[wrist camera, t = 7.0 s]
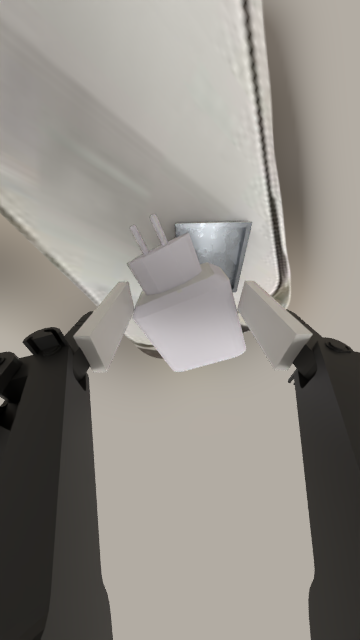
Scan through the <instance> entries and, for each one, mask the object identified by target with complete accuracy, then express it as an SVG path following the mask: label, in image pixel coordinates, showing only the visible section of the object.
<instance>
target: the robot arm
mask: <svg viewBox="0 0 360 640" xmlns="http://www.w3.org/2000/svg"><path fill="white" fill-rule="evenodd" d="M237 310H238V311H239V313H240V314H241V316H242V318H243V319H244V321H245V323H246V324H247V326H248V328H249V329H250V331H251V332H252V334H253V336H254V337H255V339H256V341H257V342H258V344H259V345H260V347H261V349H262V350H263V352H264V354H265V355H266V357H267V359H268V360H269V362H270V363H271V365H272V367H273V368H274V370H288V369H289V368H290V366H291V365H292V363H293V364H294V365H295V367H296V368H297V369H296V370H295V371H294V373H293V374H292V375H291V377H290V378H289V380H288V383H291V381H292V380H293V379H294V381H295V383H294V385H295V390H296V398H297V408H298V417H299V426H300V436H301V444H302V454H303V463H304V472H305V481H306V491H307V500H308V509H309V518H310V528H311V537H312V545H313V555H314V566H315V574H314V580H313V582H312V584H311V587H310V591H309V620H310V621H309V622H310V633H311V640H360V353H359V352H354V351H353V350H352V349H351V348H350V347H349V346H347V345H346V344H344V343H342V342H340V341H338V340H335V339H332V338H323V337H321V336H320V335H319V334H318V333H317V332H316V331H314V330H313V329H312V328H311V327H310V326H309V325H308V324H305V322H304V321H303V320H301V318H300V317H298V316H297V315H296V314H295V313H293V312H291V311H289V310H287V309H285V308H283V307H282V306H281V305H280V304H279V303H278V302H277V301H276V300H275V299H274V298H272V297H271V296H270V295H269V294H268V293H267V292H266V291H265V290H264V289H262V288H261V287H260V286H259V285H258V284H257V283H256V282H255V281H245V282H244V286H243V290H242V294H241V297H240V301H239V305H238V309H237ZM133 312H134V306H133V301H132V296H131V292H130V287H129V282H118V283H117V285H116V286H115V287H114V288H113V289H112V291H111V292H110V293H109V294H108V295H107V297H106V298H105V299H104V300H103V301H102V302H101V304H100V305H99V306H98V307H97V308H96V310H95V311H94V312H93V311H92V312H88V313H87V314H85V315H84V316H83V317H81V319H80V320H79V321H78V322H77V323H76V324H75V326H73V327H72V328H71V330H70V331H69V332H68V333H67V334H66V335H65V336H64V335H63V334H62V332H61V330H60V329H58V328H55V327H50V328H44V329H42V330H38V331H36V332H34V333H32V334H31V335H29V336H28V337H26V338H25V339H24V341H23V343H24V345H25V346H26V347H27V348H28V349H29V350H30V351H31V353H32V354H33V355H31V356H27V357H23V358H18V357H17V356H16V355H15V354H14V353H12V352H3V353H0V397H1V398H3V399H4V400H5V401H4V403H3V404H2V405H1V406H0V640H113V636H112V625H111V614H110V605H109V600H108V595H107V592H106V589H105V587H104V584H103V581H102V575H101V565H100V549H99V533H98V532H99V531H98V516H97V500H96V484H95V469H94V454H93V437H92V421H91V406H90V390H89V377H88V374H87V370H88V368H89V367H91V369H92V370H93V372H107V371H108V369H109V367H110V364H111V362H112V360H113V357H114V355H115V353H116V350H117V348H118V346H119V344H120V342H121V339H122V337H123V335H124V333H125V330H126V328H127V326H128V324H129V321H130V319H131V317H132V314H133Z"/></svg>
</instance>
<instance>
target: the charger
mask: <svg viewBox="0 0 360 640" xmlns="http://www.w3.org/2000/svg"><path fill="white" fill-rule="evenodd" d="M150 220H151V222H152V224H153V227H154V229H155V231H156V233H157V235H158V237H159V240H160V242H161V244H162V245H160V246H158V247H156V248H154V249H152V250H150V251H149V250H148V249H147V247H146V245H145V243H144V241H143V239H142V237H141V235H140V233H139V231H138V229H137V227H136V226H135V225H132V226H131V227H130V231H131V233H132V234H133V236H134V238H135V240H136V242H137V244H138V245H139V247H140V249H141V251H142V253H143V254H142V255H141V256H139V257H137V258H135V259H134V260H132V261H130V262H129V263H127V265H128V267H129V268H130V270H131V272H132V273H133V275H134V276H135V278H136V279H137V281H138V283H139V284H140V286H141V287H142V289H143V291H142V292H141V295H140V297H139V299H138V301H137V304H136V306H135V310H134V314H133V319H134V321H135V322H136V323H137V325H138V326H139V327H140V329H141V330H142V331H143V332H144V334H145V335H146V336H147V338H148V339H149V340H150V342H151V343H152V344H153V345H154V347H155V348H156V349H157V351H158V352H159V353H160V355H161V356H162V357H163V358H164V360H165V361H166V362H167V364H168V365H169V366H170V367H171V369H172V370H173V371H175V372H182V371H186V370H190V369H194V368H197V367H201V366H204V365H208V364H211V363H216V362H219V361H223V360H226V359H230V358H234V357H236V356H239V355H241V354H242V353H244V352H245V350H246V345H245V341H244V337H243V333H242V329H241V325H240V321H239V317H238V313H237V309H236V305H235V301H234V297H233V293H232V289H231V285H230V281H229V278H228V277H227V276H226V274H225V273H224V272H223V270H222V269H221V268H220V267H218V266H215V265H213V264H210V263H208V262H206V263H203V264H199V261H198V258H197V255H196V252H195V249H194V246H193V243H192V241H191V238H190V235H189V233H187V234H184V235H181V236H179V237H177V238H174V239H172V240H170V241H167V239H166V236H165V234H164V232H163V229H162V227H161V225H160V223H159V220H158V218H157V216H156V214H152V215H150Z"/></svg>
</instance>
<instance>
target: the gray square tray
mask: <svg viewBox="0 0 360 640" xmlns="http://www.w3.org/2000/svg"><path fill="white" fill-rule="evenodd" d="M251 225H252V222H250V221H229V222H190V223H175V227H176V238H177V237H179V236H181V235H184V234H187V233H189V235H190V238H191V241H192V243H193V246H194V249H195V252H196V255H197V258H198V261H199V264H203V263H206V262H208V263H210V264H213V265H215V266H218V267H220V268H221V269H222V270H223V272H224V273H225V274H226V276H227V277H228V278H229V281H230V285H231V289H232V292H236V291H237V287H238V283H239V278H240V274H241V269H242V265H243V261H244V256H245V252H246V247H247V243H248V239H249V234H250V230H251Z"/></svg>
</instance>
